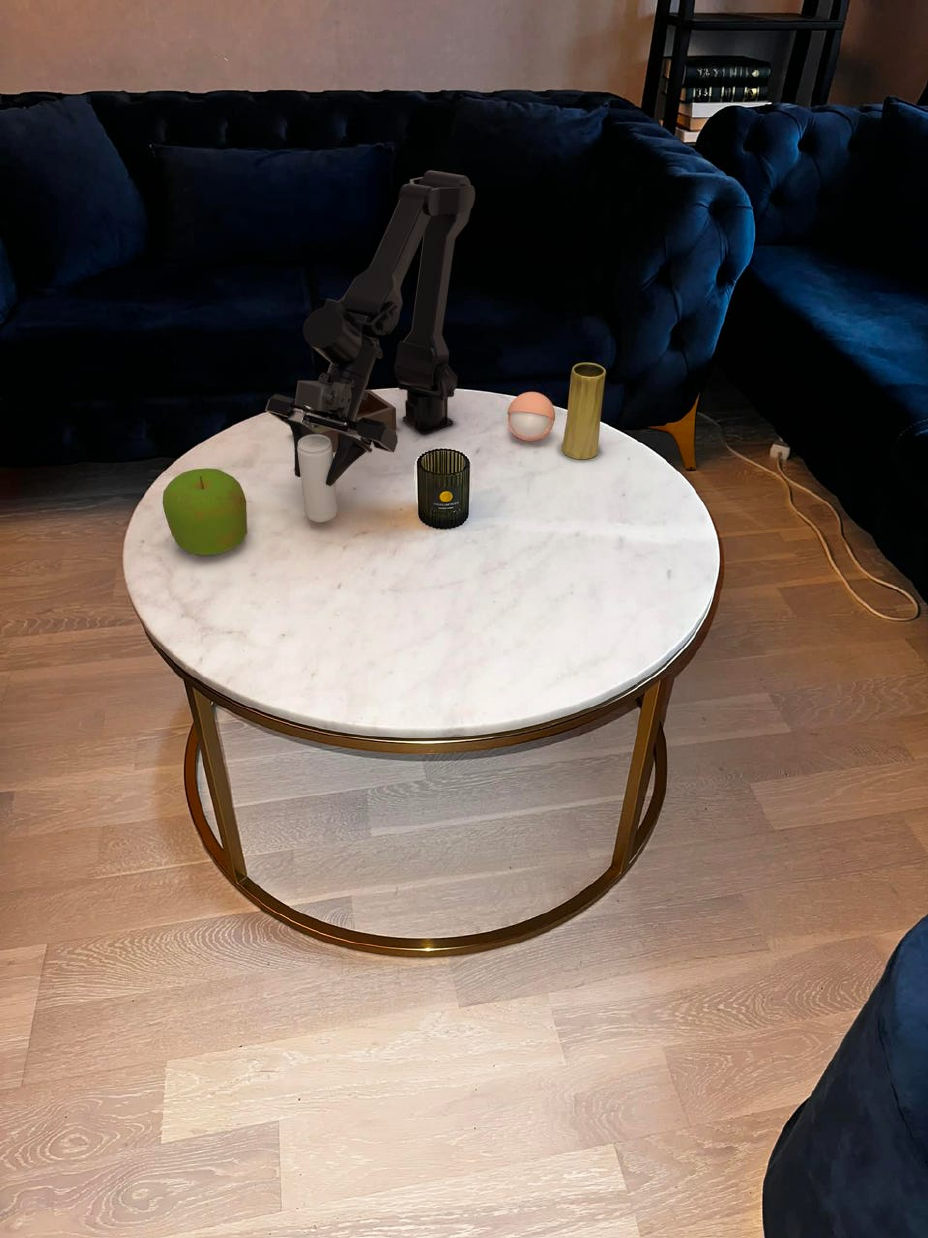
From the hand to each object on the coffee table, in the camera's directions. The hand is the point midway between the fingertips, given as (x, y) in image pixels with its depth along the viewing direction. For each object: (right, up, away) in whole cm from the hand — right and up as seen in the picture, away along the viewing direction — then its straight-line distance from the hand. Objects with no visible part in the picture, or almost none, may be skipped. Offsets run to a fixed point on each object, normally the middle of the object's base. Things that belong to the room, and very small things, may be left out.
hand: (312, 480), depth 132 cm
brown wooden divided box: (+1, +12, +26) cm, 28 cm away
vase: (+40, +8, +23) cm, 47 cm away
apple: (-15, -9, +2) cm, 17 cm away
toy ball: (+32, +11, +26) cm, 43 cm away
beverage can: (+1, -4, +5) cm, 7 cm away
